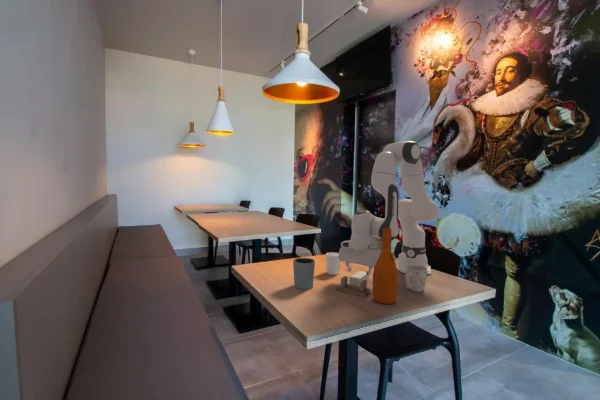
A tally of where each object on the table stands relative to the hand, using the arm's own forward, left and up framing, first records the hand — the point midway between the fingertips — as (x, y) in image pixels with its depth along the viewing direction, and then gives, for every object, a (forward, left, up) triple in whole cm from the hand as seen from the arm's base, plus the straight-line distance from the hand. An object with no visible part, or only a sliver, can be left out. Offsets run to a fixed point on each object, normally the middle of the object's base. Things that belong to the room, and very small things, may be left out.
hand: (358, 273), depth 144 cm
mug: (-6, +24, -5) cm, 25 cm away
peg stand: (+11, +2, -5) cm, 12 cm away
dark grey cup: (+19, -19, -5) cm, 27 cm away
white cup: (-7, -17, -5) cm, 19 cm away
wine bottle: (+14, +17, -5) cm, 23 cm away
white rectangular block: (-1, 0, -5) cm, 5 cm away
